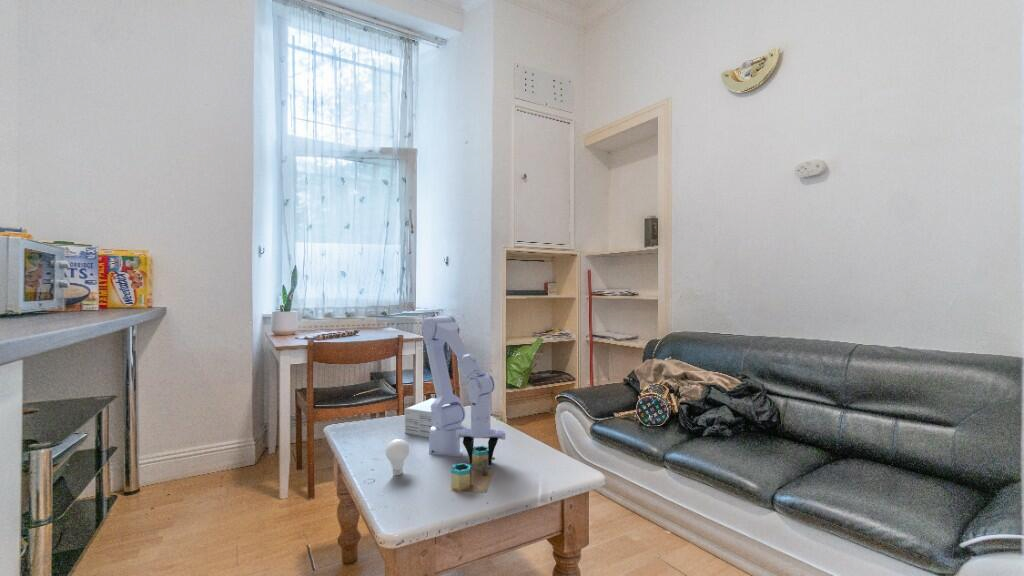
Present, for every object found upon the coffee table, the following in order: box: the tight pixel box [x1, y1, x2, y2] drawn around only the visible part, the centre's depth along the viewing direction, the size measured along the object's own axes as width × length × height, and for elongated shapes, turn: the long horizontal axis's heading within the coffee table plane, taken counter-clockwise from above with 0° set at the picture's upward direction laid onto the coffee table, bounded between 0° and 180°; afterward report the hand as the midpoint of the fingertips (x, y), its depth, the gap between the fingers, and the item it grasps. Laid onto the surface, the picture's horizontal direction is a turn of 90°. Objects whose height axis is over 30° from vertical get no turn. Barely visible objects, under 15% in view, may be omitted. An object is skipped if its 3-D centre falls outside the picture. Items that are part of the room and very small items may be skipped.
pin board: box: [451, 459, 494, 494], centre depth 117 cm, size 9×13×6 cm
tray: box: [472, 456, 495, 470], centre depth 129 cm, size 7×8×2 cm
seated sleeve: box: [450, 462, 473, 492], centre depth 114 cm, size 5×6×5 cm
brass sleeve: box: [471, 445, 490, 466], centre depth 129 cm, size 5×6×5 cm
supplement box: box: [404, 397, 450, 438], centre depth 164 cm, size 17×13×9 cm
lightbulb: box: [385, 438, 410, 477], centre depth 122 cm, size 6×6×11 cm
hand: (480, 462), depth 129 cm, fingers closed on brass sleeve, 5 cm apart
